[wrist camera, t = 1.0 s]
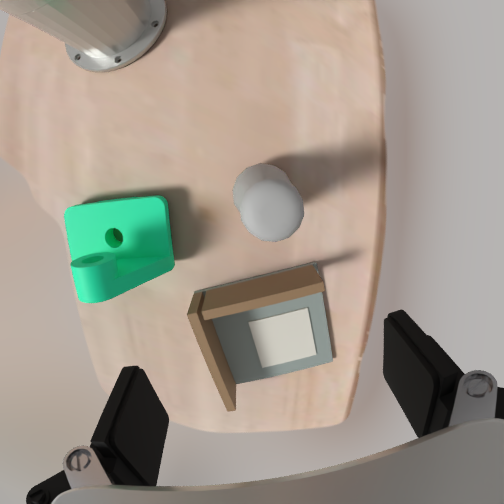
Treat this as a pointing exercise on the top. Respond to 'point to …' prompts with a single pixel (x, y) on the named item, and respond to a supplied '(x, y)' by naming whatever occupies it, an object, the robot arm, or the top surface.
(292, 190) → the salt shaker
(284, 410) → the top surface
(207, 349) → the grey and wooden tray
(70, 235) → the camera mount
